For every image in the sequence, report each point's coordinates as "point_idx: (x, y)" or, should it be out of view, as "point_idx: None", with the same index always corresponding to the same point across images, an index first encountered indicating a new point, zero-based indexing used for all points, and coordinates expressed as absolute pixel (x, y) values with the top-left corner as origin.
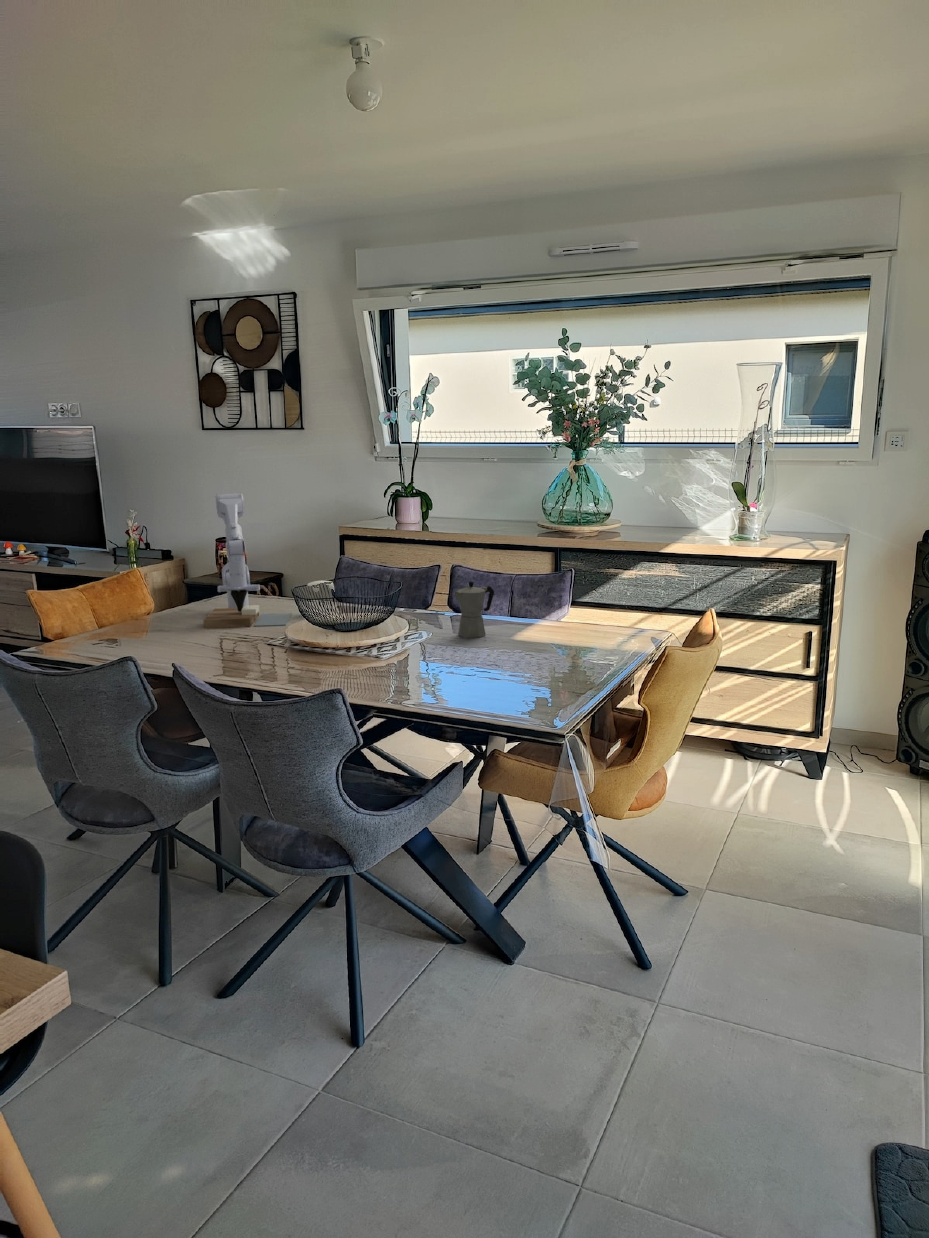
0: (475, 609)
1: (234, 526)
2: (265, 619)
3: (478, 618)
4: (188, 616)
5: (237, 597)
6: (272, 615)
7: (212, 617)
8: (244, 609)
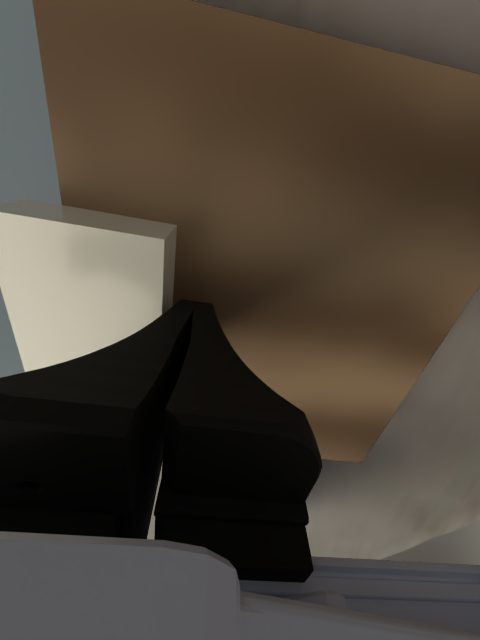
0: None
1: None
2: None
3: None
4: (457, 449)
5: (183, 378)
6: (14, 359)
7: (465, 203)
8: (126, 236)
